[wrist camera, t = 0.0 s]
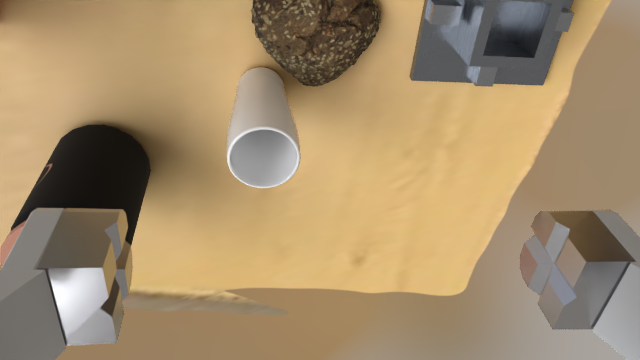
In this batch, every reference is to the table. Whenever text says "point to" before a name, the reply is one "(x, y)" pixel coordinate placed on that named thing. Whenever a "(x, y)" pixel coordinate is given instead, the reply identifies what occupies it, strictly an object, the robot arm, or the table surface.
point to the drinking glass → (262, 131)
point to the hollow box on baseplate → (489, 40)
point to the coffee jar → (89, 178)
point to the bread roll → (315, 35)
